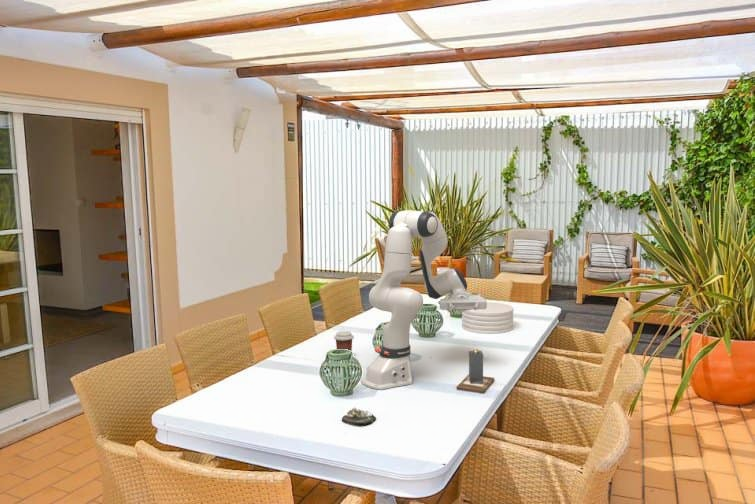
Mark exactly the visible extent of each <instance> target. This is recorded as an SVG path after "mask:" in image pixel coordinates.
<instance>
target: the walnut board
mask: <svg viewBox="0 0 755 504" xmlns="http://www.w3.org/2000/svg"><path fill="white" fill-rule="evenodd" d="M494 382H495V377H491V376H485V375H483V384H470V381H469V373H468V374H467V375H466V376H465V377H463V380H461V382H459V383H458V385H456V390H457V391H463V392H471V393H477V394H485V393H486V392H487V391H488V390H489V388H490V386H492V384H493V383H494Z"/></svg>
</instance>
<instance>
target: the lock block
mask: <svg viewBox="0 0 755 504" xmlns="http://www.w3.org/2000/svg"><path fill="white" fill-rule="evenodd" d="M468 374H469V381H470V384H483V376H484V352H482V350H479V349H474V348H473V349H472V350H468Z"/></svg>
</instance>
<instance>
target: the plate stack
mask: <svg viewBox="0 0 755 504" xmlns="http://www.w3.org/2000/svg"><path fill="white" fill-rule="evenodd" d="M486 302H487V307H486V309H477V310H474V309H471V310H466V311H463V312H461V319H462V320H461V328H462V330H464V331H466V332H470V333H474V334H481V335H482V334H483V335H499V334H505V333H510V332H512V331H513V330H514V307H513V306H512V305H510V304H507V303H502V302H501V303H500V302H489V301H486Z"/></svg>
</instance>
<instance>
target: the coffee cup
mask: <svg viewBox="0 0 755 504" xmlns="http://www.w3.org/2000/svg"><path fill="white" fill-rule="evenodd" d="M333 336H334V340H335V347H336V350H337V349H348V350H351V351H352V349H353V339H354V338H355V336H354V335H353V334H352V331H350V330H341V331H337V332H336V334H335V335H333Z"/></svg>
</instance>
